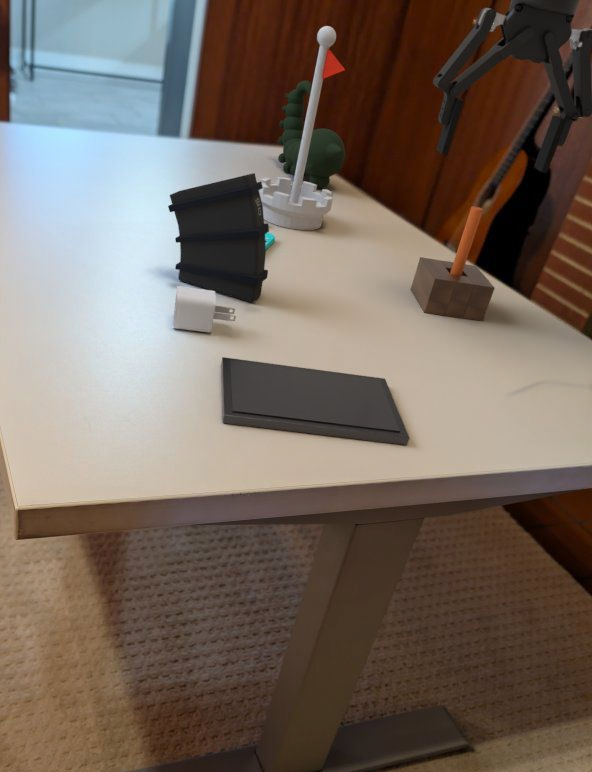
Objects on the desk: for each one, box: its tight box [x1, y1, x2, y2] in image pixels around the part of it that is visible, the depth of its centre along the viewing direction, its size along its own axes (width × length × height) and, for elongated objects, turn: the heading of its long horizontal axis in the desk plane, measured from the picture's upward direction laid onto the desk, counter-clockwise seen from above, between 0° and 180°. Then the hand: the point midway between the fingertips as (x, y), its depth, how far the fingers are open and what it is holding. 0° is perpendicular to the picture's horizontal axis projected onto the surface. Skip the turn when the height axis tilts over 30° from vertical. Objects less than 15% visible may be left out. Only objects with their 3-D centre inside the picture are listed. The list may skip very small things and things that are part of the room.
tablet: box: [220, 356, 410, 446], centre depth 76 cm, size 18×12×1 cm, turn 93°
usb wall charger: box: [172, 285, 237, 334], centre depth 87 cm, size 4×7×4 cm, turn 94°
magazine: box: [167, 172, 270, 303], centre depth 96 cm, size 4×13×15 cm, turn 69°
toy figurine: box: [277, 80, 346, 189], centre depth 154 cm, size 9×19×25 cm
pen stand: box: [410, 256, 495, 322], centre depth 107 cm, size 9×9×5 cm
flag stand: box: [259, 25, 346, 231], centre depth 124 cm, size 13×13×30 cm
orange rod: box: [450, 206, 484, 276], centre depth 105 cm, size 2×2×14 cm
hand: (491, 161), depth 98 cm, fingers open, 13 cm apart
